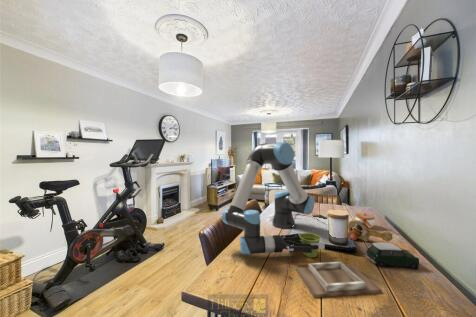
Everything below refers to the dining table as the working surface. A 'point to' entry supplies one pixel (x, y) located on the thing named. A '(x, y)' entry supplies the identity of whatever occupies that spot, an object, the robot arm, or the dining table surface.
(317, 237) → the plant pot
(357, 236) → the toy helicopter
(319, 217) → the smart home device
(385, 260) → the miniature car
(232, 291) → the dining table surface
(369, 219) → the lidded jar
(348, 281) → the jig plate
